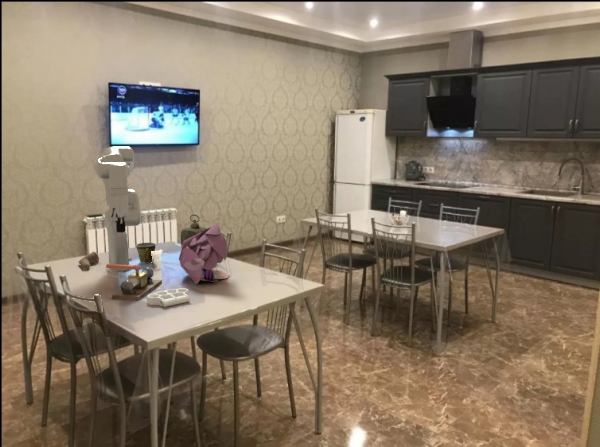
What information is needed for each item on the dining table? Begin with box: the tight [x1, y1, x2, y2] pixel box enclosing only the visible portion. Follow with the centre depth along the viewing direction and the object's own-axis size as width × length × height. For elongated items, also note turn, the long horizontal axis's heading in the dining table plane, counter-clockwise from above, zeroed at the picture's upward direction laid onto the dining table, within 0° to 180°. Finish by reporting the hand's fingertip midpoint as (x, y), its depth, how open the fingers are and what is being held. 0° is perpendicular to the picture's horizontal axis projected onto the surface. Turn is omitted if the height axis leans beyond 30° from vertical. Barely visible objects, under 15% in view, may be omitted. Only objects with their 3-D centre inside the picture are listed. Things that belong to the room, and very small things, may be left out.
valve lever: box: [105, 263, 141, 271], centre depth 219 cm, size 3×15×1 cm, turn 82°
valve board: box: [111, 279, 163, 301], centre depth 220 cm, size 24×12×2 cm, turn 172°
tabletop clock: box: [180, 214, 208, 248], centre depth 274 cm, size 14×9×25 cm, turn 58°
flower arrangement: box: [178, 223, 230, 285], centre depth 240 cm, size 35×24×28 cm
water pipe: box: [119, 267, 155, 294], centre depth 219 cm, size 22×6×8 cm, turn 172°
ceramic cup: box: [135, 242, 157, 265], centre depth 264 cm, size 13×10×10 cm
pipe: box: [78, 251, 100, 271], centre depth 258 cm, size 6×17×10 cm
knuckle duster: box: [146, 287, 191, 308], centre depth 208 cm, size 3×18×15 cm
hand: (121, 231), depth 223 cm, fingers closed
